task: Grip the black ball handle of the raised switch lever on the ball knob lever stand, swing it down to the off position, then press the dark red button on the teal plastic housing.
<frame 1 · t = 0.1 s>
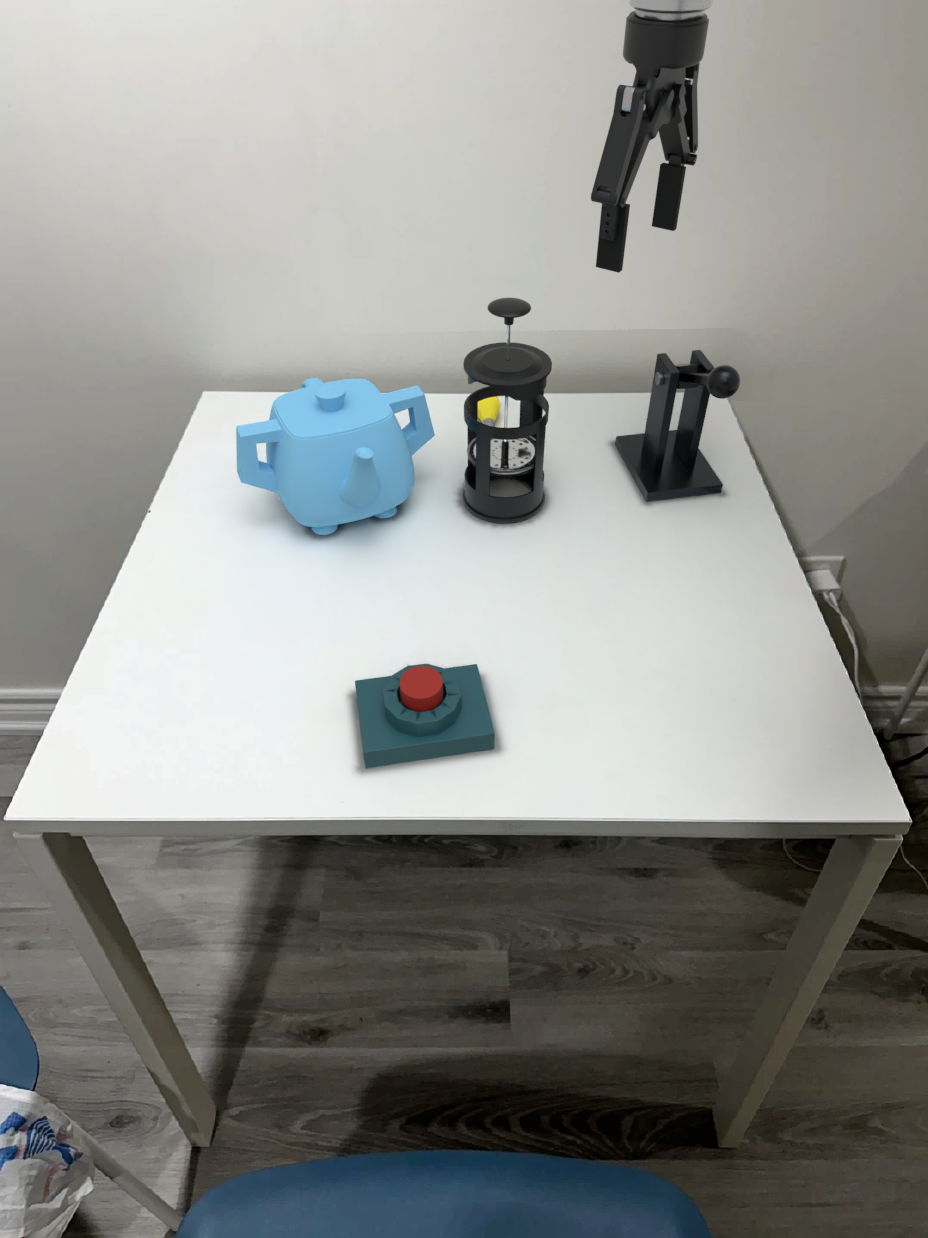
hand: (637, 247, 93), 22 cm above the table, tool pointing down, fingers open, 13 cm apart
switch lever: (702, 379, 88), point 14 cm above the table, hinge at 25.0°
ball knob lever stand: (666, 467, 102), on the table
french press: (506, 497, 98), on the table
button box: (423, 722, 74), on the table
light bulb: (487, 423, 109), on the table
teapot: (349, 510, 97), on the table
stop button: (421, 688, 71), point 4 cm above the table, slide at 0.1 cm
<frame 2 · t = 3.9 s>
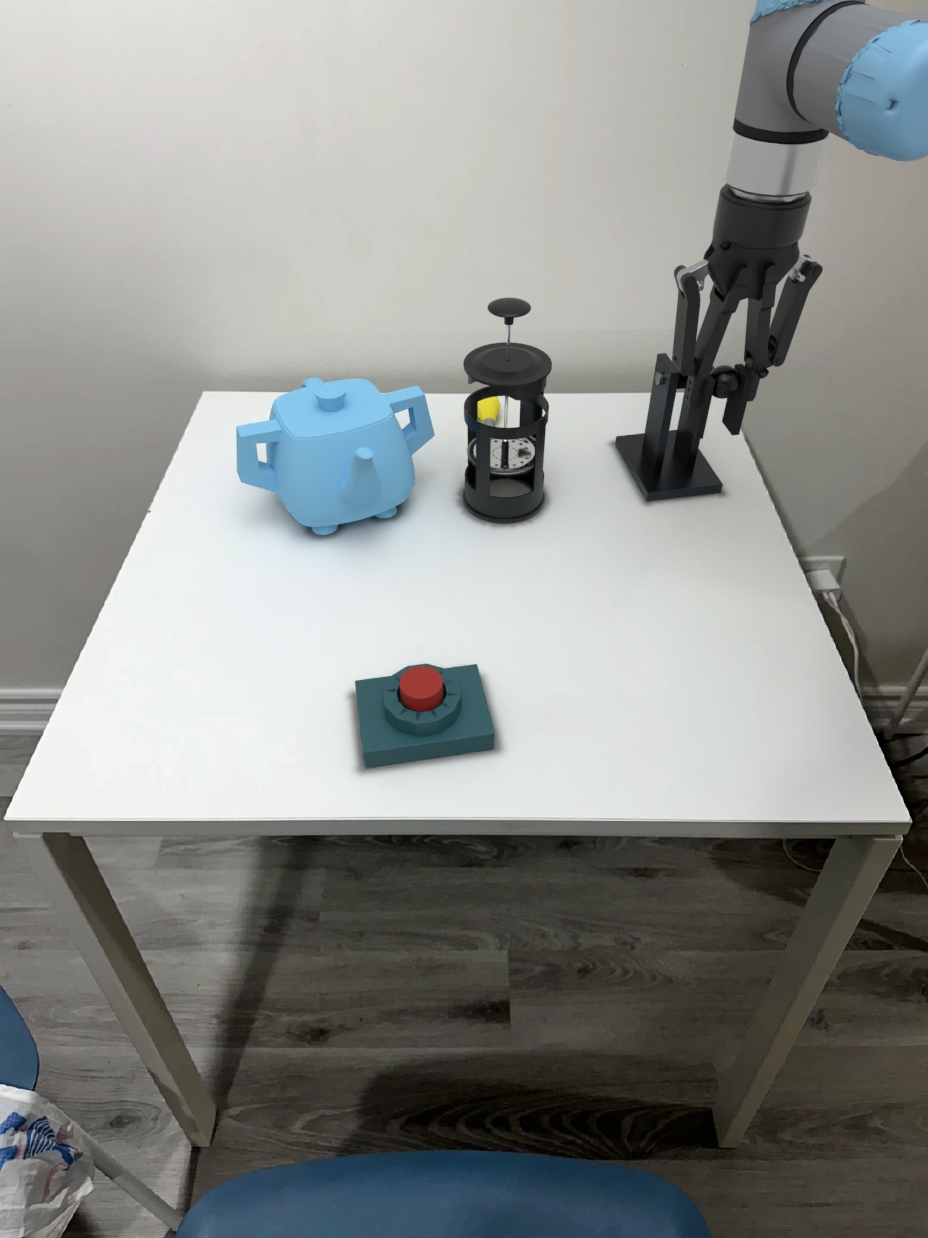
hand: (712, 429, 88), 11 cm above the table, tool pointing down, fingers closed on switch lever, 3 cm apart
switch lever: (702, 379, 88), point 14 cm above the table, hinge at 25.0°, touching gripper
everything else where it was.
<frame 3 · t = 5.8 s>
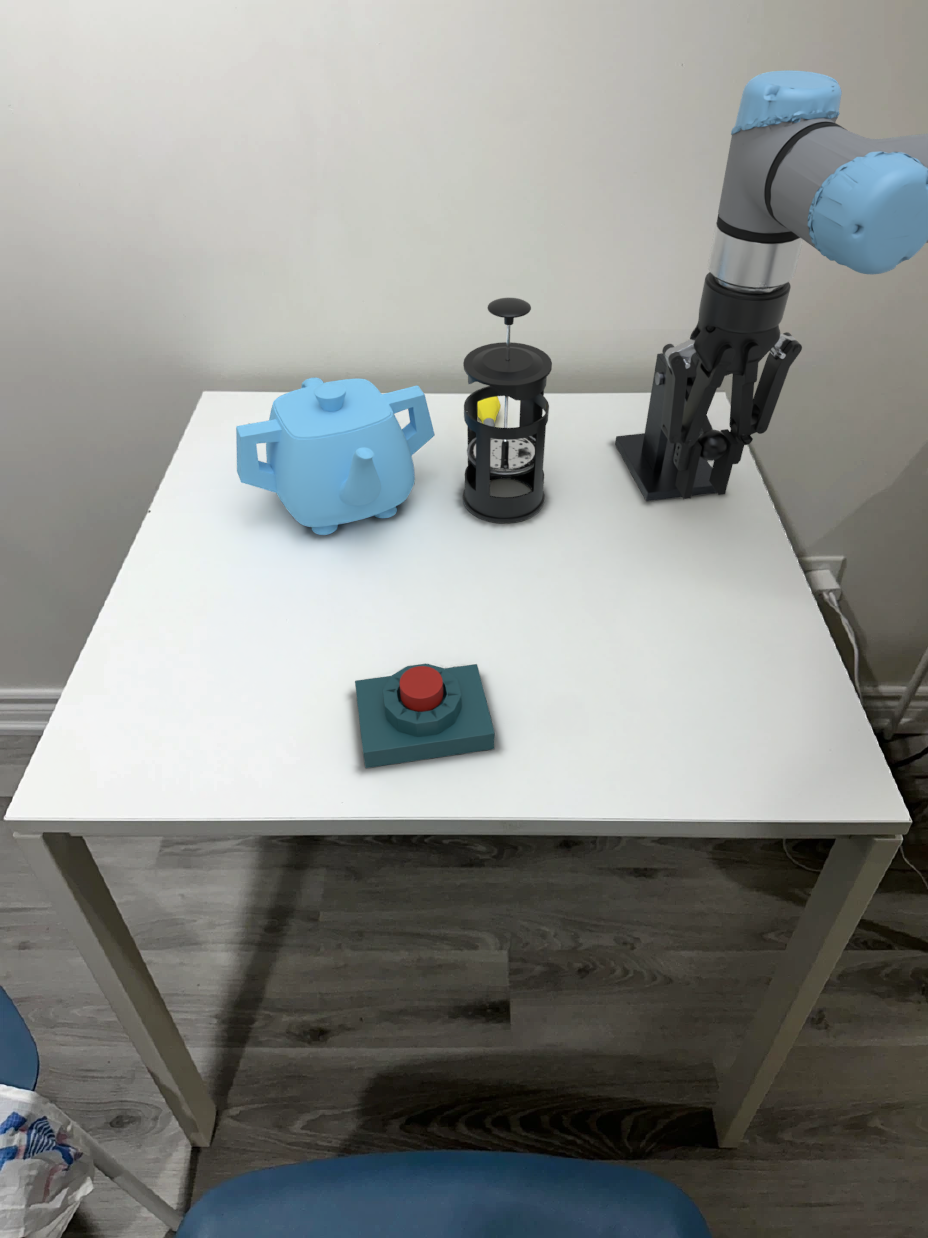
hand: (700, 489, 93), 3 cm above the table, tool pointing down, fingers closed on switch lever, 3 cm apart
switch lever: (697, 410, 91), point 11 cm above the table, hinge at -15.8°, touching gripper
everything else where it was.
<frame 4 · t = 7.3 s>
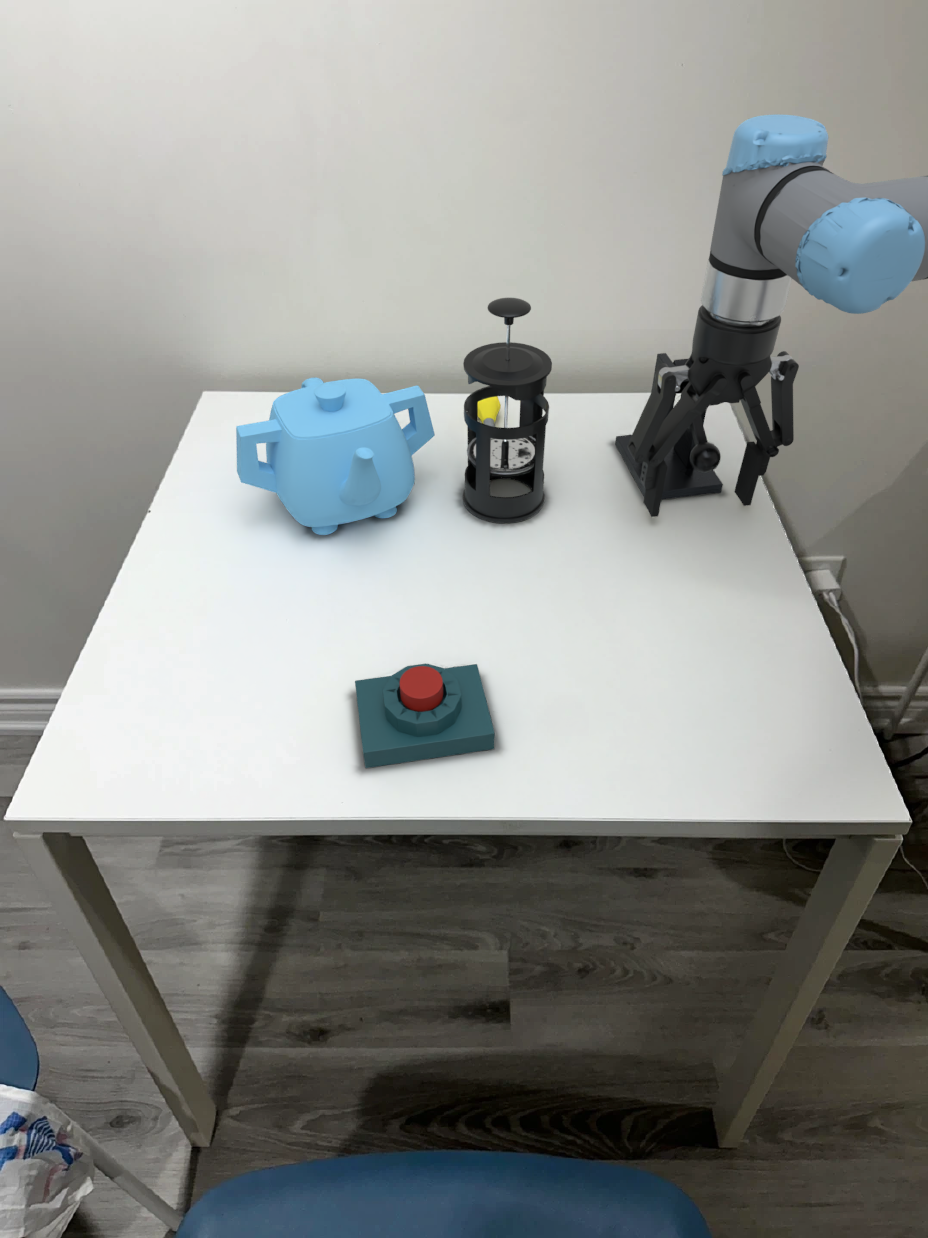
hand: (696, 503, 94), 1 cm above the table, tool pointing down, fingers open, 10 cm apart
switch lever: (694, 417, 92), point 10 cm above the table, hinge at -28.5°
everything else where it was.
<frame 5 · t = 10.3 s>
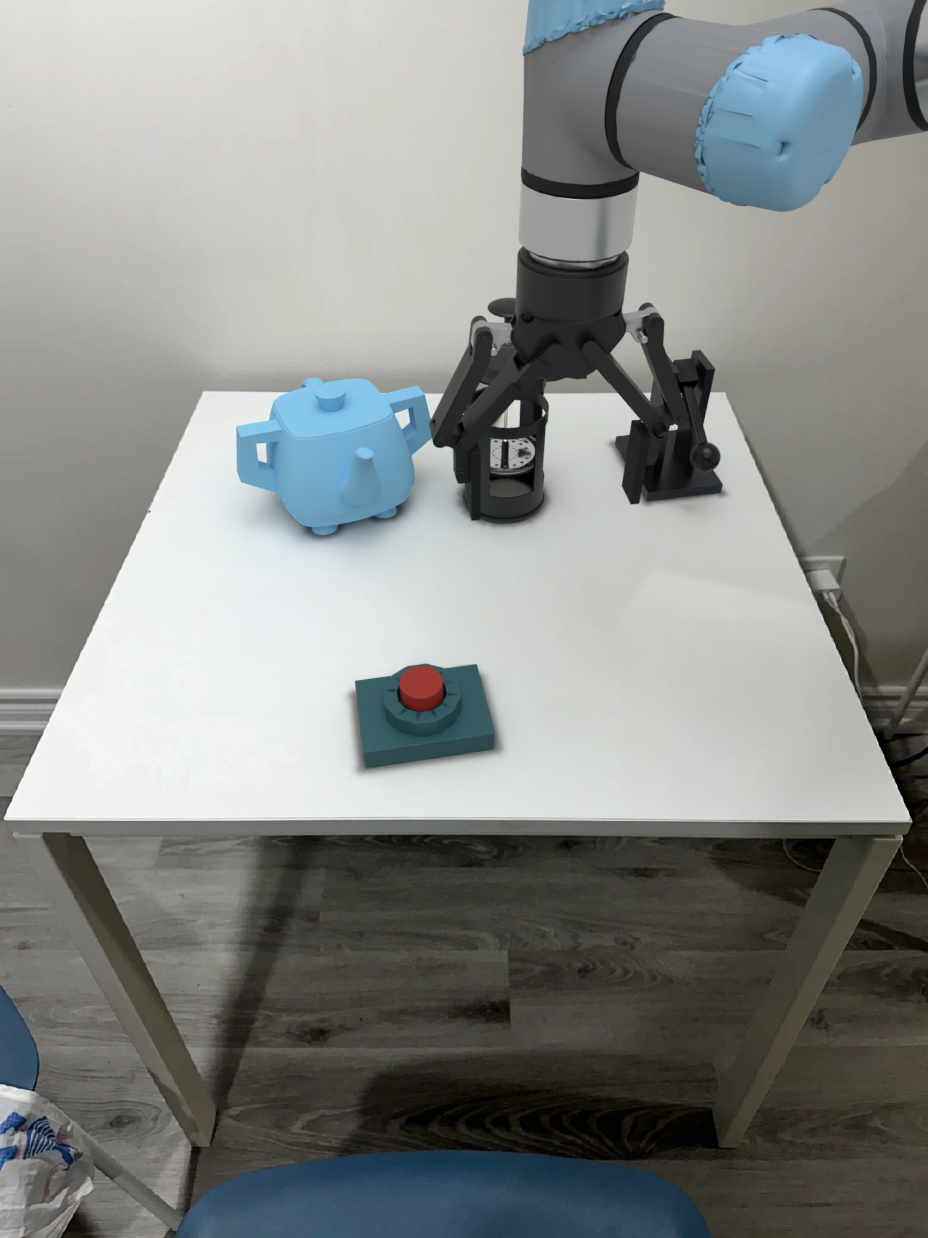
hand: (552, 503, 72), 15 cm above the table, tool pointing down, fingers open, 13 cm apart
nothing on the table moved.
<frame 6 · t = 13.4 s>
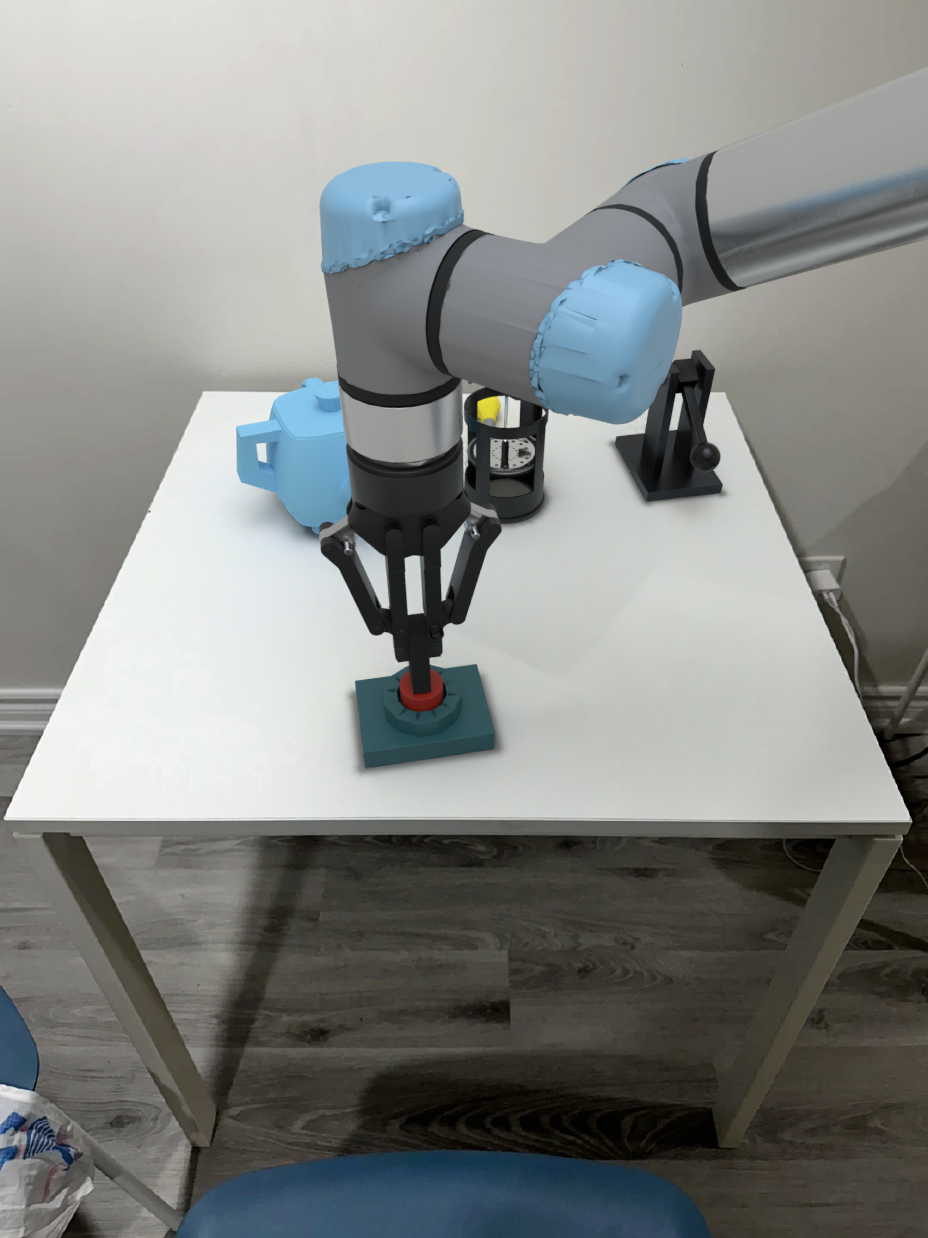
hand: (420, 680, 71), 5 cm above the table, tool pointing down, fingers closed
stop button: (421, 690, 71), point 4 cm above the table, slide at -0.1 cm, touching gripper
everything else where it was.
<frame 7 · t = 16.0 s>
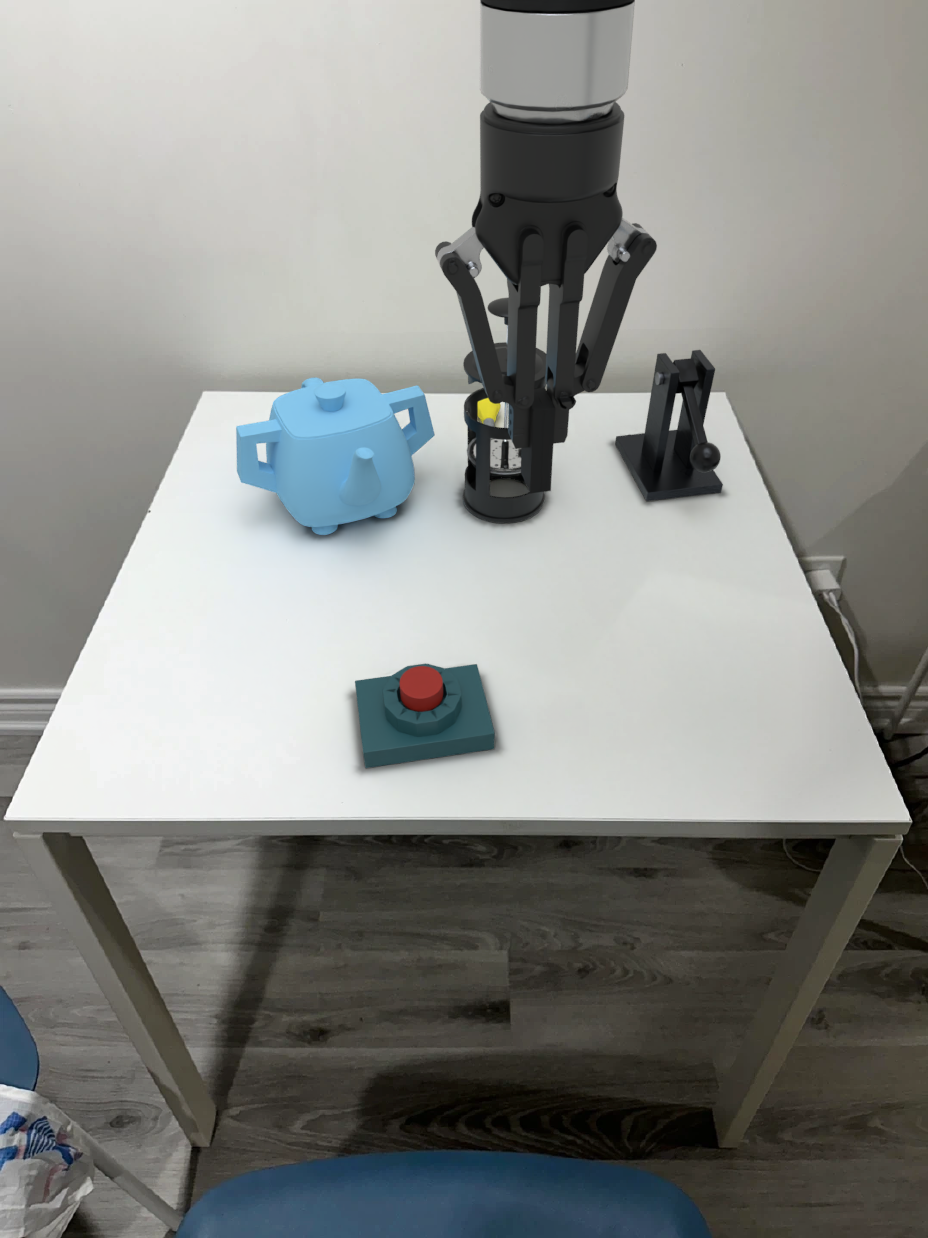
hand: (535, 481, 60), 23 cm above the table, tool pointing down, fingers closed
stop button: (421, 688, 71), point 4 cm above the table, slide at 0.1 cm
everything else where it was.
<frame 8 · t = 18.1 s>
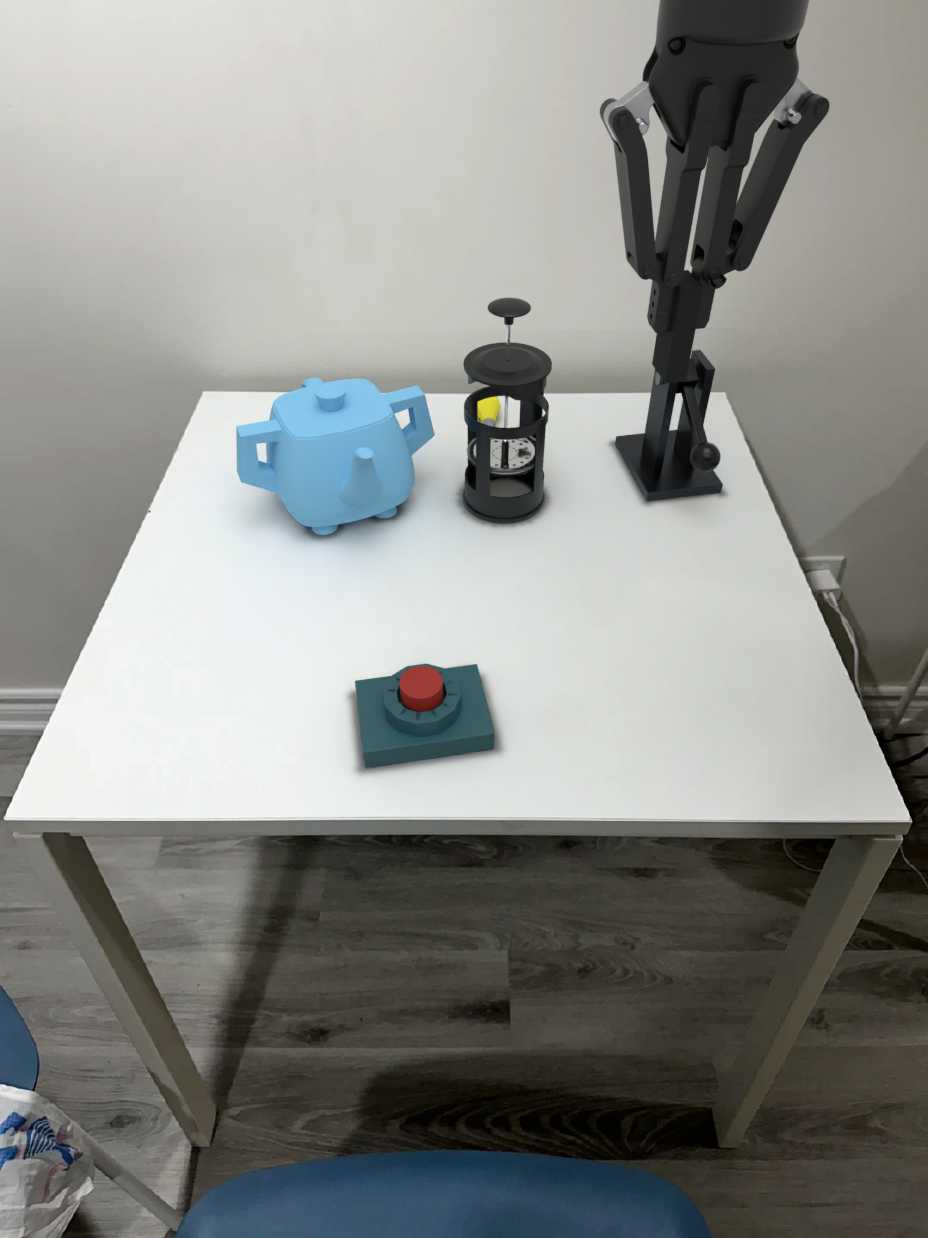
hand: (668, 372, 59), 29 cm above the table, tool pointing down, fingers closed
nothing on the table moved.
at the end: switch lever at -28° (first picture: +25°); stop button pushed in 1.0 cm at the most during the clip, back to where it started at the end; stop button slide at 0.1 cm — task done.
